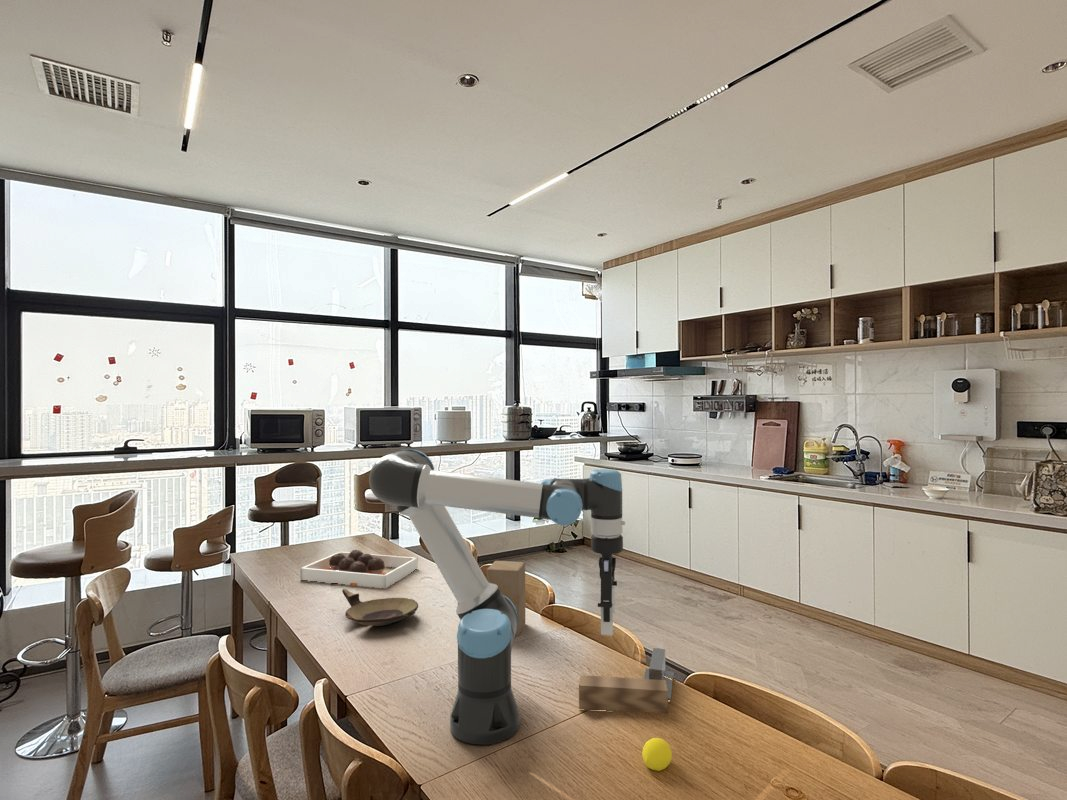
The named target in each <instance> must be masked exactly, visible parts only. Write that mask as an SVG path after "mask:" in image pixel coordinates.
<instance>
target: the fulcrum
mask: <svg viewBox="0 0 1067 800" xmlns="http://www.w3.org/2000/svg"><path fill="white" fill-rule="evenodd" d="M663 675H664V676H666V677H668V678H671V679H673V681H672V680H670V679H668V678H665V677H664V676H663ZM674 675H675V673H674V671H672V670H671V671H669V670H666V649H664V648H657V647H656V648H655V647H653V648H652V654H651V658H650V661H649V666H648V668H645V672H644V676H643V679H654V680H666V685H667V690H668V700H672V693H671V691H672V690H673V685H672V682H673V683H674ZM672 692H673V691H672Z"/></svg>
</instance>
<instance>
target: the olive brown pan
mask: <svg viewBox="0 0 1067 800" xmlns="http://www.w3.org/2000/svg"><path fill="white" fill-rule="evenodd" d="M341 591H342V594H343V596H344V597H345V598H346V600H347V602H348V603H349V606H350V607H349V608H348V609H347V610H345V617H346V619H348V620H349V621H354V622H355V623H357V624H359V625H363V626H370V627H373V626H374V627H378V626H379V627H380V626H386V625H391V624H394V623H396V622H398V621H402V620H403V619H406V618H408V617H409V616H412V615H414V614H416V611H417V610H418V608H419V603H418V602H417V601H416V600H414V599H413V598H407V597H387V598H376V599H371V600H366V601H361V600H360V593H353V592H350V590H348V589H346V588H343V589H342V590H341Z"/></svg>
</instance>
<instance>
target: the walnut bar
mask: <svg viewBox="0 0 1067 800" xmlns="http://www.w3.org/2000/svg"><path fill="white" fill-rule="evenodd" d="M578 682H579V683H578V710H579V709H584V710H606V711H614V712H616V711H627V712H628V711H629V712H642V713H643V712H645V713H657V714H658V713H659V714H660V713H661V714H669V713H668V712H669V711H668V709H669V707H668V706H669V705H668V704H669V703H668V690H667V685H666V680H654V679H644V678H632V677H617V676H602V675H601V676H600V675H586V674H585V675H583V674H581V675H579V681H578Z"/></svg>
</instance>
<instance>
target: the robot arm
mask: <svg viewBox="0 0 1067 800" xmlns="http://www.w3.org/2000/svg"><path fill="white" fill-rule="evenodd" d="M622 480H623V479H622V473H621V472H619V471H618V470H617V469H609V468H607V469H606V468H603V469H602V468H601V469H594V470H591V472H590V476H589V478H556V477H554V478H547V479H543V480H542V481H541V483H538V482H533V481H532V482H530V481H524V480H523V481H522V480H516V479H515V480H514V479H507V478H500V477H492V476H482V475H475V474H467V473H460V472H451V471H443V470H437V469H435V466H434V464H433V462H432V460H431V459H430V458H429V457H428V456H427V454H426V453H424V452H423V451H419V450H416V449H412V448H406V449H400V450H397V451H395V452H392V453H389V454H387V455H386V454H385V455H383V456H382V457H381V458H379V459H378V460H377V461H375V463H374V464H373V465H372V467H371V470H370V473H369V477H368V483H369V488H370V490H371V493H372V494H373V495H374V497H375V498H376V499H377V500H379V501H380V502H382V503H384V504H387V505H391V506H395V508H396V510H397V511H398V513H399V514H400V515H403V516H407V517H408V518H409V520H411V522H412V524H413V526H414V528H415V529H416V532H417V533H418V535H419V536H420V538H421V540H422V542H423V543H424V546H425V547H426V549H427V551H428V553H429V555H430V556H431V558H432V559H433V562H434V563H435V565H436V566H437V568H438V570H439V572H440V573H441V575H442V577H443V578H444V581H445V582H446V584H447V585H448V587H449V589H450V591H451V593H452V595H453V596H454V598H455V599H456V601H457V606H456V609H455V613H456V615H457V616H458V618H459V623H458V627H457V632H456V640H457V641H456V642H457V685H458V686H457V693H456V695H455V696H456V697H455V700H454V703H453V706H452V710H451V713H450V719H449V722H450V724H449V726H450V732H451V734H452V735H453V736H454V737H455V738H456V739H458V740H459V741H462V742H463V743H467V744H473V745H491V744H497V743H500V742H503V741H506V740H507V739H509V738H511V737H512V736H514V734H515V733H516V732H517V731H518V729H519V727H520V710H519V708H518V704H517V701H516V698H515V695H514V692H513V690H512V689H513V688H512V650H513V647H514V646H513V645H514V641H515V637H516V636H515V634H516V631H517V627H518V617H517V611H516V608H515V606H514V604H513V603H512V602H511V600H510V599H509V598H507V597H506V596H504V595H503V594H502V593H501V591H500V589H499V588H498V586H497V585H496V584H492V583H489V582H488V581H487V576H485V573H483V572H484V571H482V569H481V567H480V566H479V564H478V562H477V560H476V558H475V557H474V555H473V552H472V551H471V550H470V548H469V547H468V544H467V543H466V541H465V540H464V537H463V536H462V534H461V532H460V531H459V529H458V527H457V525H456V524H455V522H454V520H453V518H452V516H451V515H450V513H449V511H448V510H447V508H446V507H448V508H455V509H466V510H473V511H481V512H489V513H494V514H495V513H497V514H504V515H512V516H513V515H514V516H520V517H526V518H527V517H528V518H536V519H543V520H548V521H552V522H553V523H555V524H557V525H561V526H569V525H572V524H573V523H575V522H576V521H577V520H578V519H579V518H580V515H581V514H582V511H590V532H591V534H592V535H591V536H590V540H591V550H592V552H593V553H596V554H600V555H601V556H600V557H598V568H599V579H600V602H598V603H597V608H600V635H601V636H614V614H616V610H615V608H616V607H615V606H616V605H615V604H616V600H615V598H616V597H615V596H616V595H615V593H616V592H615V587H617V586H618V581H617V580H616V581H615V571H616V564H617V563H616V561H617V557H614V554H615V555H616V554H620V553H622V552H623V550H624V537H623V536H622V535H623V526H625V525H626V521H625V520H623V481H622Z"/></svg>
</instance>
